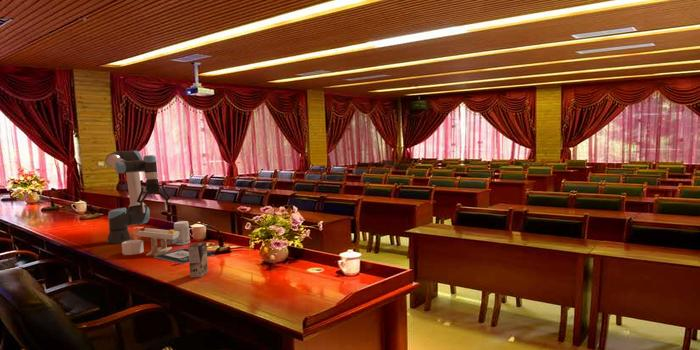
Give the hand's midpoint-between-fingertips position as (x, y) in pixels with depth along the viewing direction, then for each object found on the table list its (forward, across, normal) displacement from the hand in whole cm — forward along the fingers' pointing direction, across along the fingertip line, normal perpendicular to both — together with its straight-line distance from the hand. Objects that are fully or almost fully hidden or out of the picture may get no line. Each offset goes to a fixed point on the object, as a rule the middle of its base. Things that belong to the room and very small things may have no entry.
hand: (155, 211), depth 301 cm
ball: (+14, +10, -13) cm, 21 cm away
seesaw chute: (+18, +2, -6) cm, 19 cm away
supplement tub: (+24, +14, +10) cm, 30 cm away
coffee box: (+34, +28, -71) cm, 83 cm away
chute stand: (+25, +1, -9) cm, 27 cm away
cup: (+24, -15, -4) cm, 29 cm away
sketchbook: (+29, +17, -27) cm, 43 cm away
